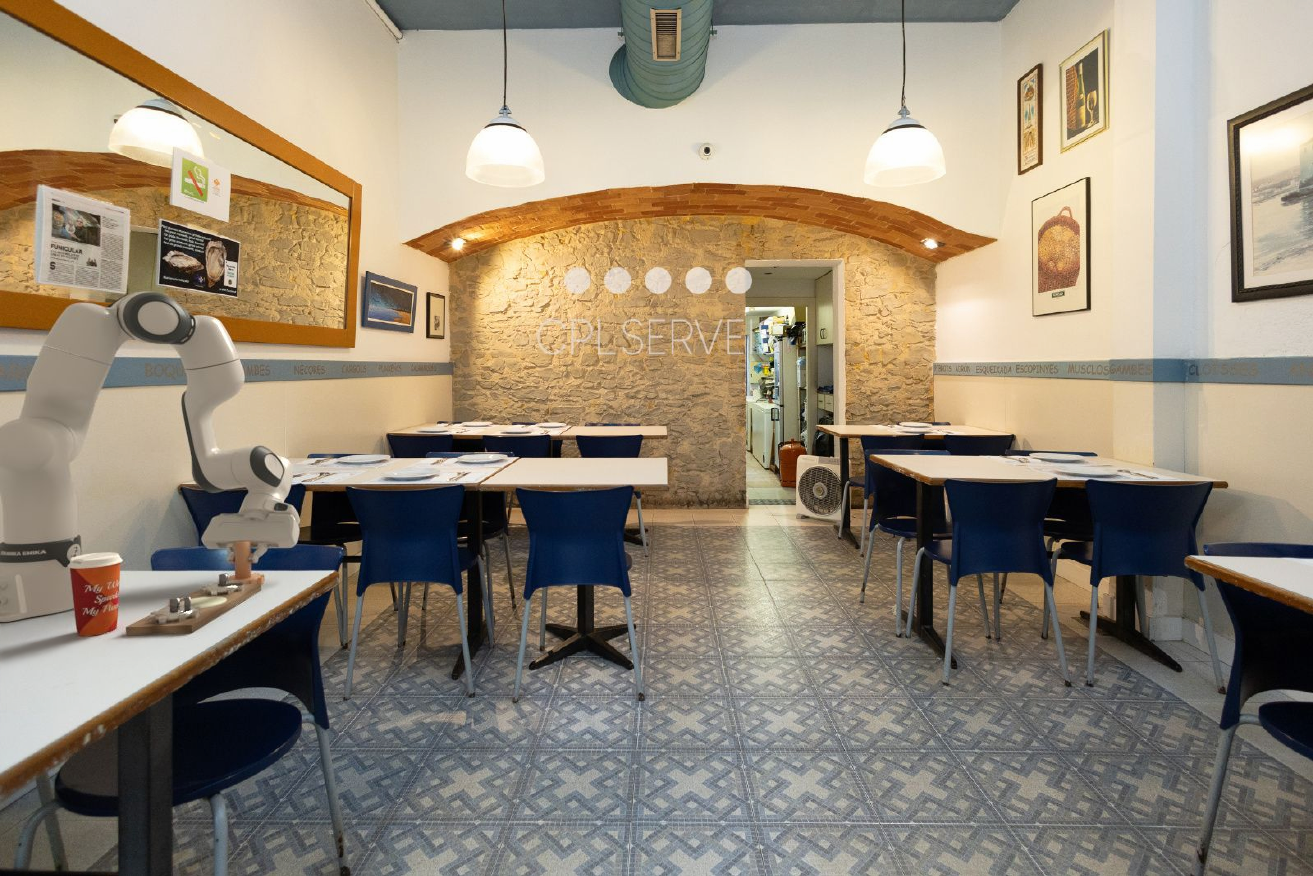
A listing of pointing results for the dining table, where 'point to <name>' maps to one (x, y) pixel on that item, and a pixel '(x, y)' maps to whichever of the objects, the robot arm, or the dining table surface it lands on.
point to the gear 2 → (223, 586)
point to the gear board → (208, 612)
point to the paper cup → (95, 592)
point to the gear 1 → (175, 612)
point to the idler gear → (244, 565)
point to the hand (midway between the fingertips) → (241, 562)
